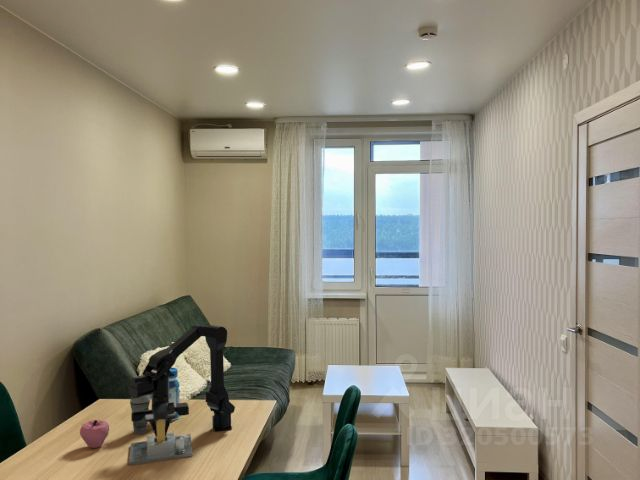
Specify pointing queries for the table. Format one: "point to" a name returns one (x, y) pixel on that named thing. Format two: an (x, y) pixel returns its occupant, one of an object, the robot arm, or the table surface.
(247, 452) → the table surface
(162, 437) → the pale yellow rectangular prism
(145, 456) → the gray tray
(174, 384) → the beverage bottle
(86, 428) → the apple
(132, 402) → the beverage cup
